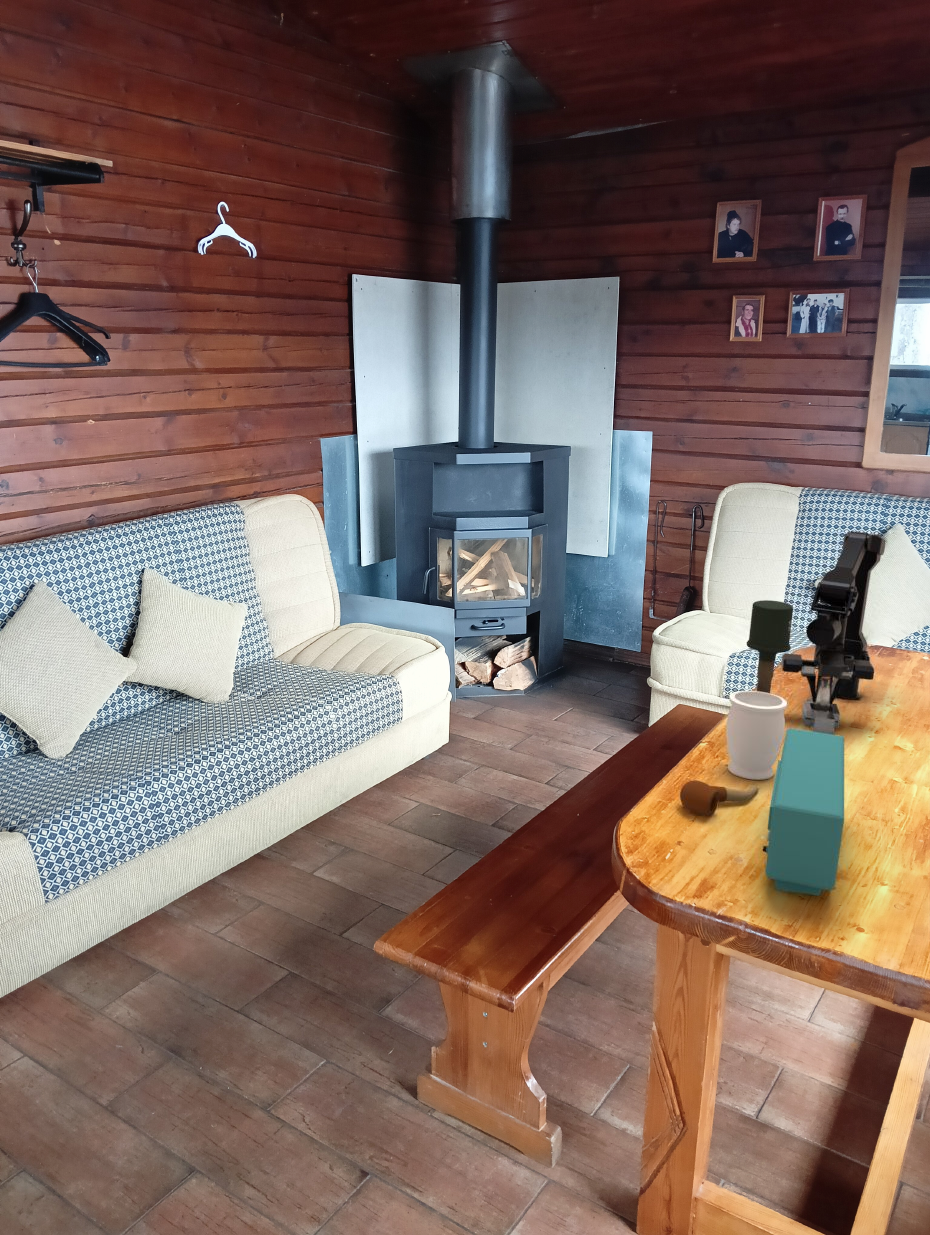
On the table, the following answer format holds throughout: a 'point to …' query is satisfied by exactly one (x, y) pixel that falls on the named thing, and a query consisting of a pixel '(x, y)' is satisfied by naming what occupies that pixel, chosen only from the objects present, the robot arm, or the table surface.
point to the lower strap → (809, 720)
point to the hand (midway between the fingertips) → (822, 703)
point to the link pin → (823, 693)
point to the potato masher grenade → (769, 637)
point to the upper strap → (821, 717)
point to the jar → (754, 733)
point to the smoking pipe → (710, 797)
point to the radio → (806, 813)
